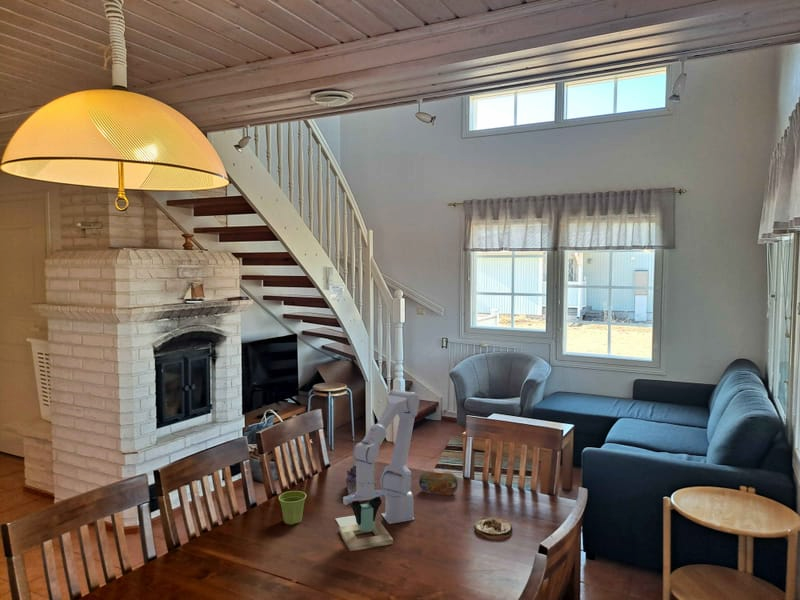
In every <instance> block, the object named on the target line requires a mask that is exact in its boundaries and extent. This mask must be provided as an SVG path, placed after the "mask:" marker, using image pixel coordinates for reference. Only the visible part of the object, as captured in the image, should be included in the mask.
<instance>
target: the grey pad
mask: <svg viewBox="0 0 800 600" xmlns="http://www.w3.org/2000/svg"><path fill="white" fill-rule="evenodd" d="M335 522H336V523H337V524H338V528H339V527H343V526H350V525H356V524H357V523H356V518H355V514H354V515H349V516H348V515H347V516H342V517H337V518H336V517H335Z"/></svg>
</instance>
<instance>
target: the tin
mask: <svg viewBox="0 0 800 600" xmlns="http://www.w3.org/2000/svg"><path fill="white" fill-rule="evenodd" d="M458 481H459V480H458V479H457V477H456V475H455V474H453V473H452V472H448V471H447V472H446V471H438V470H437V471H436V470H426V471H425V472H423V473H422V474H420V477H419V478H418V484H419V487H420V489H421V490H422V492H424V493H426V494H429V493H430V495H431V494H432V495H441V496H452V495H454V494H455V492H456V491H457V489H458V486H459V482H458Z"/></svg>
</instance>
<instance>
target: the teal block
mask: <svg viewBox="0 0 800 600" xmlns="http://www.w3.org/2000/svg"><path fill="white" fill-rule="evenodd" d="M360 505H361V506H362V508H361V525H358V527H359V529H360V530H361V532H362V531H368V530H373V507H372V506H371V505H370V503H369V502H368V503H363V504H360Z"/></svg>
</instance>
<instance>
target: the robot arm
mask: <svg viewBox="0 0 800 600" xmlns="http://www.w3.org/2000/svg"><path fill="white" fill-rule="evenodd" d="M419 405H420V398H419V395H418V393H417V392H415V391H413V392H412V391H405V390H399V389H398V390H397V389H391V390H390V391H389V393H388V394H387V396H386V406H385V407H384V410H383V412H382V413H381V415H380V417H379V419H378V421H377V422H376V423H374V424H372V425H371V426H370V428H369V429H368V431H367V432H366V434H365V436H364V437H363V439H362V440H361V442H358V443H356V444H355V445H354V447H353V451H352V453H351V456H352V459H353V460H354V466H356V493H354V494H351V495H349V494H348V495H346V496H343V497H342V503H343V505H344V506H348V505H349V504H350V507H351V508H352V511H353V514H354V515H355V518H356V523H357V524H358V525H361V508H362V506H361V505H362V504H361V503H360V502H363V501H369V502H368V503H370V505H371V506H372V507H373V522H374V521H376V516H377V512H378V510H379V508H380V506H381V505H382V499H381V498H385V503H384V505H385V512H383V513H381V516H382V517H383V518H384V520H385V521H386V523H387V524H397V523H403V522H409V521H414V520H415V517H414V514H415V513H414V507H415V506H414V505H415V503H414V495H413V493H412V491H411V488H412V471H411V470H410V469H409V468H408V466H407V463H408V462H407V461H408V458H409V457H408V456H409V452H410V446H411V440H412V435H413V429H414V424H415V417H417V416H418V411H419ZM397 416H398V417H399V420H398V424H397V425H398V426H397V431H396V436H395V442H394V447H393V451H392V457H391V462H390V463H389V464H387V465H386V466H385V467H384V469H383V472H382V475H381V477H380V480H379V484H380V487H381V489H376V490H374V481H375V462H376V460H377V459H378V455H379V451H380V446H381V445H382V443H383V441H384V440H385V438H386V436H387V429H388V428H389V426H390V424H391V423H392V422H393V420H394V419H395V418H396V417H397Z"/></svg>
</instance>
